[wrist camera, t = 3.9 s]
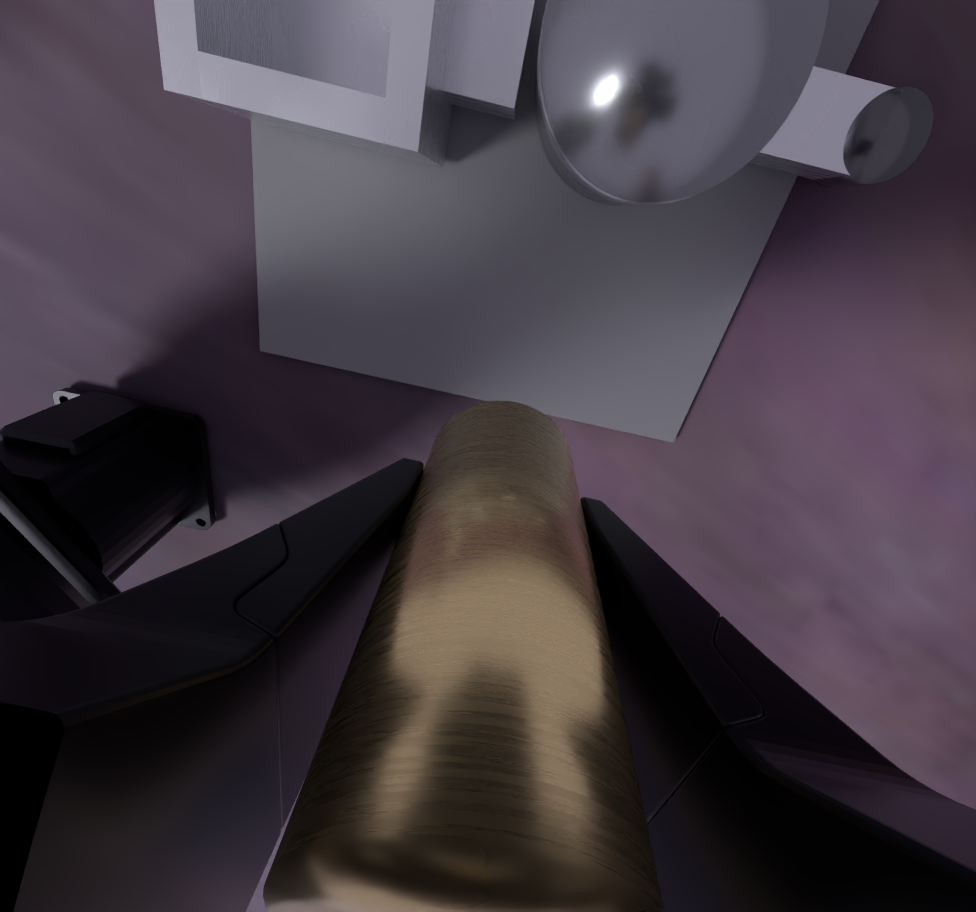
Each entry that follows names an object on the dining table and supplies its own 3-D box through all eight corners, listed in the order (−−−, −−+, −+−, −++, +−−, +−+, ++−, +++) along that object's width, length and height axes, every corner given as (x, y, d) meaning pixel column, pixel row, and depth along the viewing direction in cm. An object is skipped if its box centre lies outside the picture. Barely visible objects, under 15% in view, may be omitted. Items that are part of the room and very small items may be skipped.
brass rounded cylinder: (549, 535, 11) (591, 1013, 4) (422, 507, 11) (268, 960, 4) (590, 418, 9) (749, 886, 3) (443, 385, 9) (253, 797, 3)
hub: (682, 225, 16) (744, 229, 11) (513, 184, 15) (510, 172, 11) (769, -8, 13) (899, -124, 8) (564, -65, 13) (588, -214, 8)
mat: (671, 439, 20) (673, 442, 19) (263, 349, 19) (260, 350, 19) (993, -258, 11) (1005, -271, 10) (233, -491, 10) (226, -510, 10)
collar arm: (948, 23, 12) (1135, -61, 9) (822, 260, 15) (920, 275, 12) (246, -168, 12) (114, -355, 8) (256, 122, 14) (164, 89, 11)
